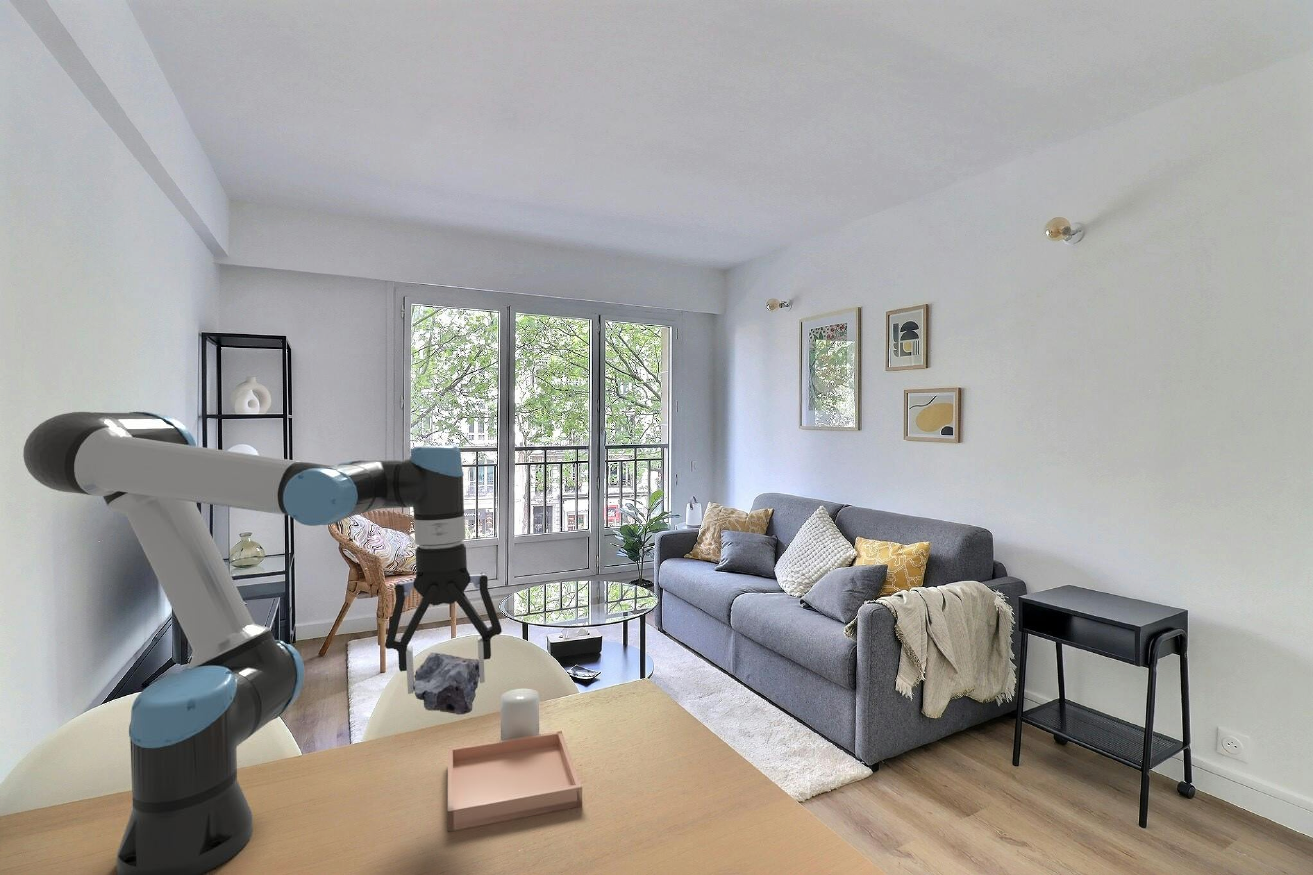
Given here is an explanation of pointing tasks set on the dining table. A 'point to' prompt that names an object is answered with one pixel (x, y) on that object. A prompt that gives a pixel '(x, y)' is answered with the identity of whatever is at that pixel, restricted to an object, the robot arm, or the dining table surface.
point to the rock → (447, 683)
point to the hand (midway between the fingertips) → (447, 684)
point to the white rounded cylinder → (519, 713)
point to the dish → (510, 780)
